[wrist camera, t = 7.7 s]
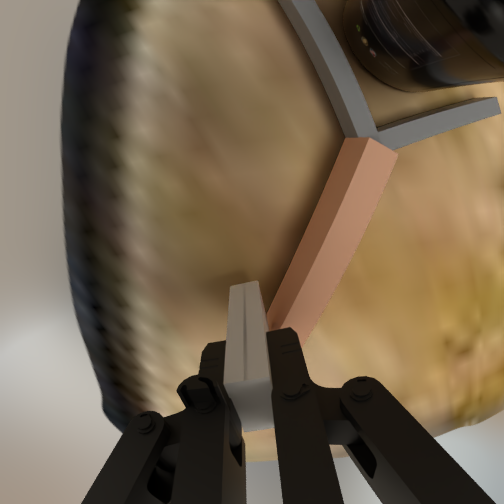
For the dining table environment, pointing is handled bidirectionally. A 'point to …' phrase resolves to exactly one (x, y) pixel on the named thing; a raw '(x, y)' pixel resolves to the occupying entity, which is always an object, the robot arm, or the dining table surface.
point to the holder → (348, 173)
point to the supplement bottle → (428, 41)
